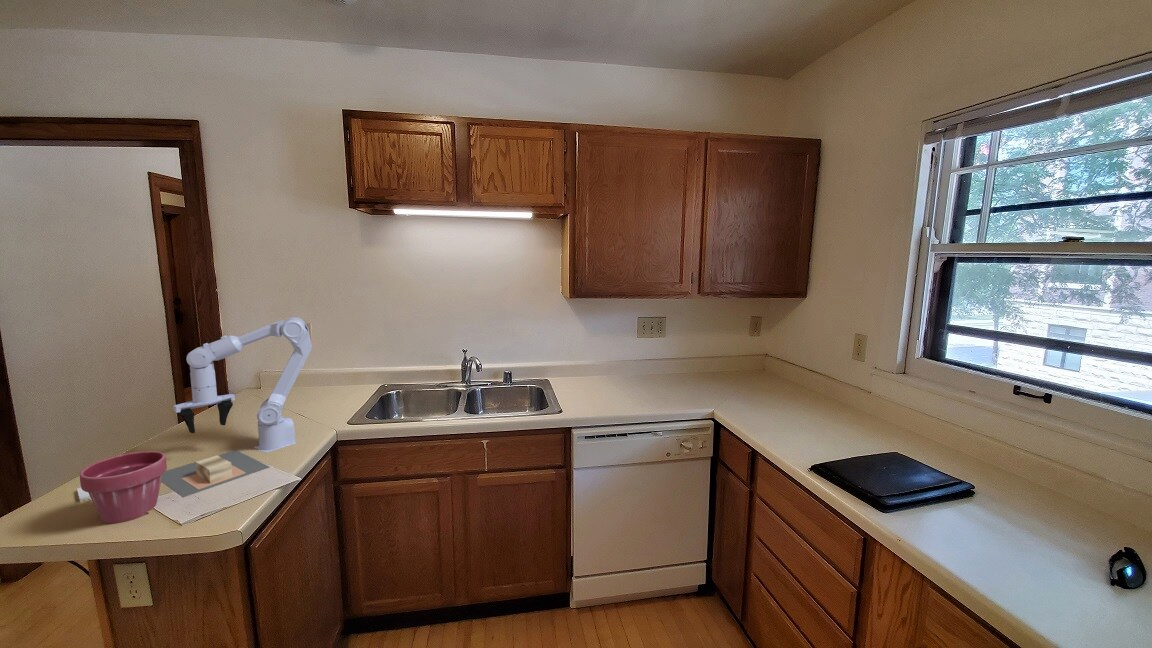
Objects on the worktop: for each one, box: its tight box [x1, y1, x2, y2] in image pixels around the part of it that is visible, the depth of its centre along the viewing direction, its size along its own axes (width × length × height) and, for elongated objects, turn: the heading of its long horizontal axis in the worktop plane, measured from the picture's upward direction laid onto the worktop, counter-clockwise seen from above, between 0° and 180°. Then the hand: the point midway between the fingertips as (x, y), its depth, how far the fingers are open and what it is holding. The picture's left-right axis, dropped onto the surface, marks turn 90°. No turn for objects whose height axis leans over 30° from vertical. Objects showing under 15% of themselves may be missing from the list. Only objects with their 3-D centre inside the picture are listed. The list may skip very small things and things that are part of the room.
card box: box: [194, 454, 232, 484], centre depth 120 cm, size 9×5×4 cm, turn 60°
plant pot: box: [79, 450, 168, 524], centre depth 102 cm, size 14×14×13 cm
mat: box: [161, 449, 271, 498], centre depth 123 cm, size 20×22×1 cm
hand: (207, 428), depth 132 cm, fingers open, 7 cm apart
